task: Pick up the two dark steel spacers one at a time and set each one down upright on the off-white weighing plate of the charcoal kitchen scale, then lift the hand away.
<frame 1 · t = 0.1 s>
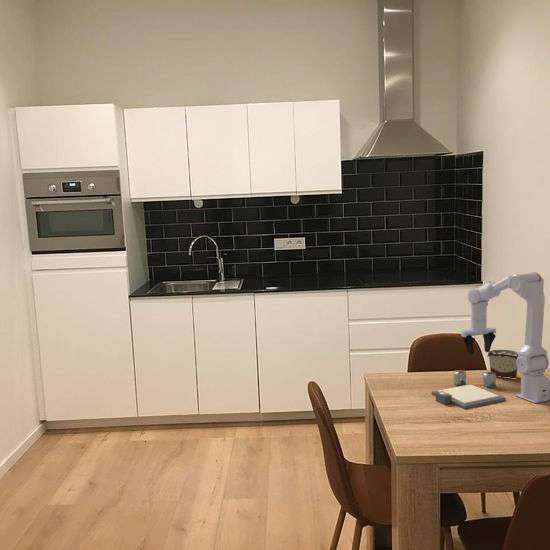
hand: (478, 353, 244), 10 cm above the table, tool pointing down, fingers open, 7 cm apart
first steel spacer: (489, 386, 234), on the table
food container: (505, 376, 246), on the table
kitchen scale: (467, 397, 223), on the table
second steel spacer: (459, 384, 238), on the table
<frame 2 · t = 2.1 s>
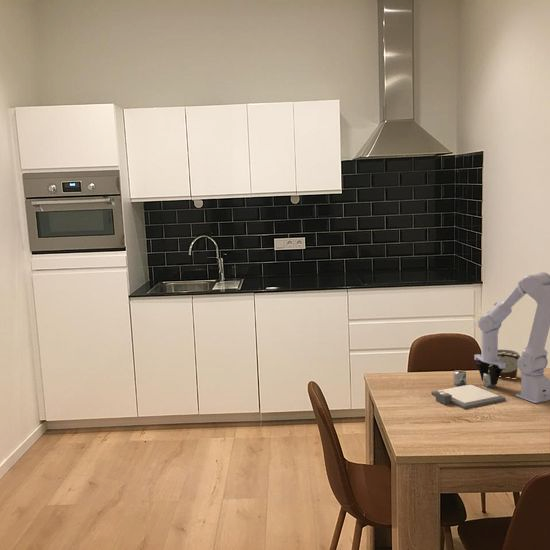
hand: (489, 382, 234), 1 cm above the table, tool pointing down, fingers closed on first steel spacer, 4 cm apart
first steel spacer: (489, 386, 234), on the table, touching gripper
everything else where it was.
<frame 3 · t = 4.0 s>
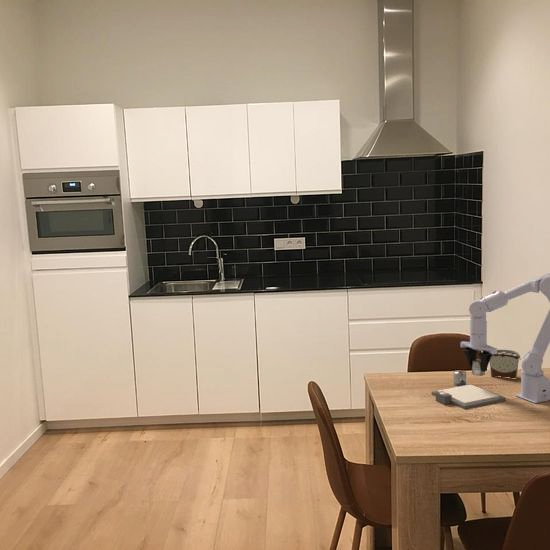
hand: (478, 369, 227), 8 cm above the table, tool pointing down, fingers closed on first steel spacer, 4 cm apart
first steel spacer: (478, 374, 228), point 7 cm above the table, touching gripper
everything else where it was.
when the fingers open (4 cm above the table, at t = 6.0 s): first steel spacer stays where it is, resting on kitchen scale.
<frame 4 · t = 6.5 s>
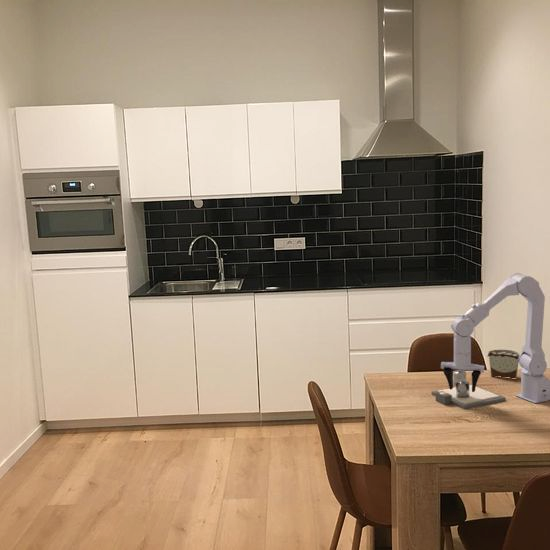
hand: (462, 389, 219), 4 cm above the table, tool pointing down, fingers open, 7 cm apart
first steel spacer: (462, 396, 220), point 2 cm above the table, touching kitchen scale
everything else where it was.
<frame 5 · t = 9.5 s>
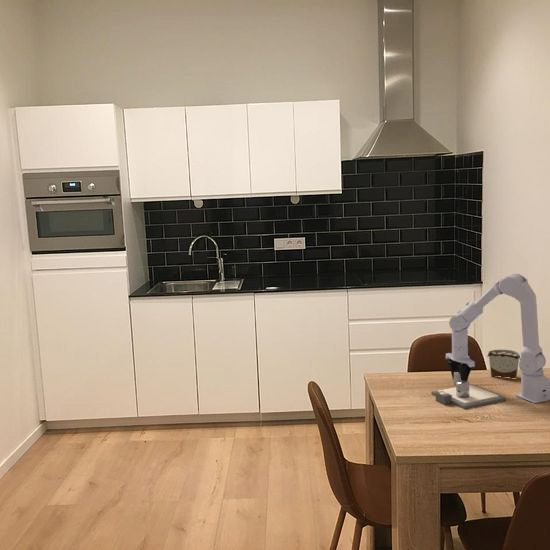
hand: (459, 380, 238), 1 cm above the table, tool pointing down, fingers closed on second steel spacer, 4 cm apart
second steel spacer: (459, 384, 238), on the table, touching gripper
everything else where it was.
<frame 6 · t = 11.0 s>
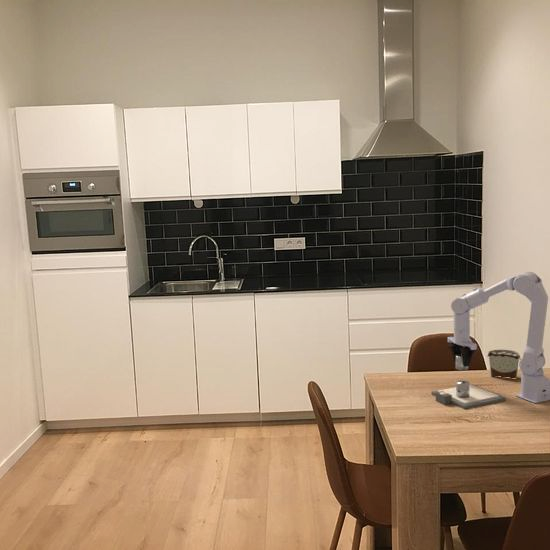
hand: (461, 364, 235), 8 cm above the table, tool pointing down, fingers closed on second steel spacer, 4 cm apart
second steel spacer: (461, 368, 235), point 7 cm above the table, touching gripper
everything else where it was.
when the fingers open (4 cm above the table, at t = 12.9 s): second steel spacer stays where it is, resting on kitchen scale.
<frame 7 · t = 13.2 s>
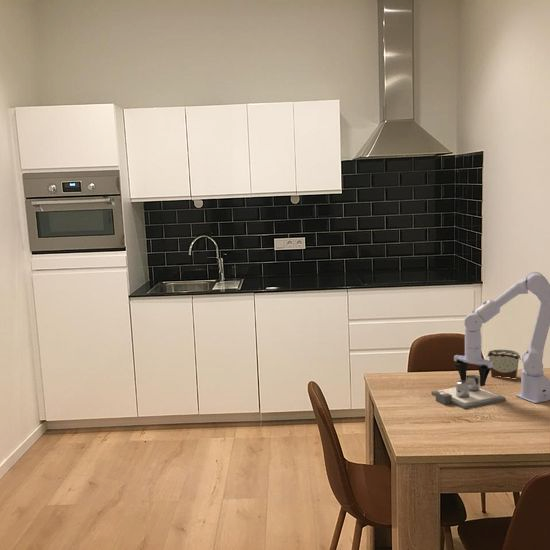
hand: (473, 383, 226), 4 cm above the table, tool pointing down, fingers open, 7 cm apart
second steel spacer: (473, 389, 226), point 2 cm above the table, touching kitchen scale
everything else where it was.
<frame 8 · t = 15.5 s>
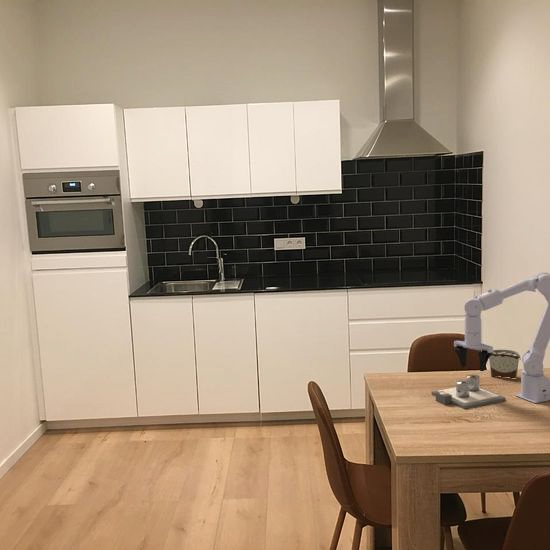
hand: (473, 368, 225), 9 cm above the table, tool pointing down, fingers open, 7 cm apart
nothing on the table moved.
at the end: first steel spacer inside the target area on the kitchen scale (4.0 cm from its centre), point 1.5 cm above the kitchen scale's base; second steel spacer inside the target area on the kitchen scale (4.5 cm from its centre), point 1.5 cm above the kitchen scale's base; the gripper is holding nothing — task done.
